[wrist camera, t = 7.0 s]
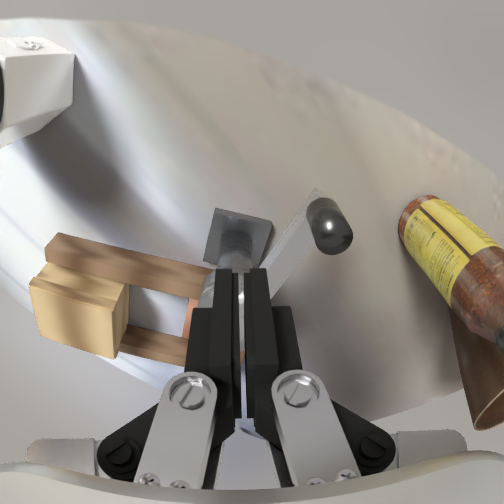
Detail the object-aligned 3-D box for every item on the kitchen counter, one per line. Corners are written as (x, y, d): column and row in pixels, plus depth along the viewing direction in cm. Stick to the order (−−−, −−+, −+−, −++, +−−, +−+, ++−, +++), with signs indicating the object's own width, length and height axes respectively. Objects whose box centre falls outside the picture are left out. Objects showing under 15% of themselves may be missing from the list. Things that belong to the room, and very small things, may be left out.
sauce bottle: (410, 258, 30) (502, 421, 14) (384, 215, 28) (499, 395, 11) (457, 223, 28) (572, 364, 11) (437, 177, 26) (586, 320, 9)
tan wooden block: (60, 301, 33) (40, 336, 28) (54, 251, 29) (27, 285, 24) (129, 321, 34) (115, 360, 29) (131, 271, 31) (112, 311, 26)
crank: (299, 174, 15) (314, 204, 12) (350, 204, 16) (373, 240, 13) (198, 326, 20) (192, 370, 17) (241, 342, 21) (241, 386, 18)
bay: (67, 315, 34) (55, 338, 31) (58, 232, 28) (39, 253, 25) (233, 356, 38) (232, 382, 34) (262, 280, 32) (264, 307, 28)
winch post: (204, 255, 30) (188, 334, 21) (215, 207, 27) (200, 278, 19) (255, 266, 31) (258, 347, 22) (271, 221, 28) (281, 296, 20)
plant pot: (526, 266, 32) (589, 344, 18) (467, 342, 39) (508, 426, 25) (473, 229, 29) (560, 328, 15) (403, 326, 36) (448, 436, 22)
